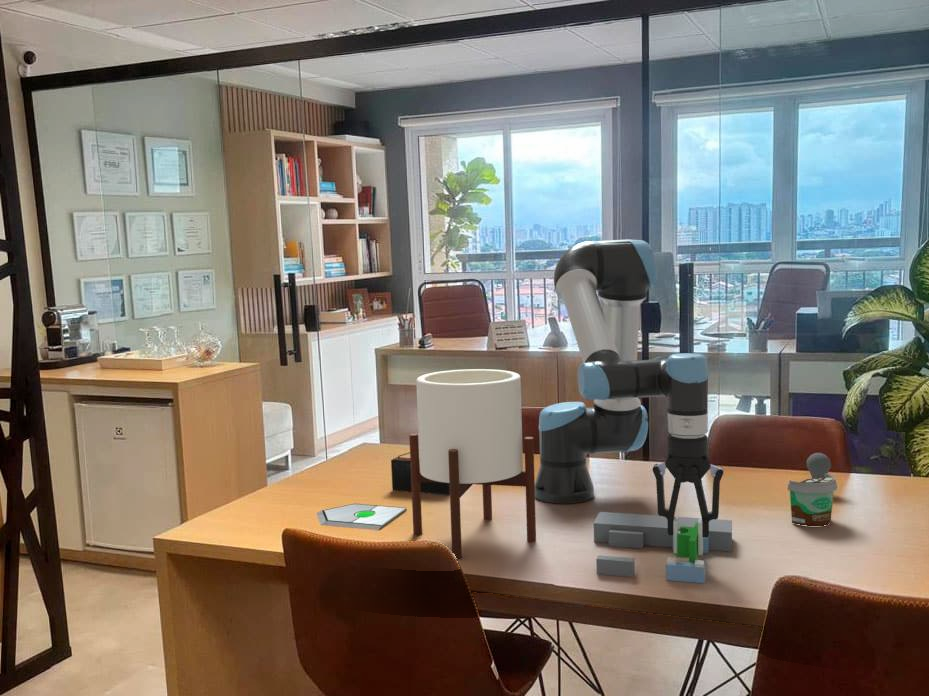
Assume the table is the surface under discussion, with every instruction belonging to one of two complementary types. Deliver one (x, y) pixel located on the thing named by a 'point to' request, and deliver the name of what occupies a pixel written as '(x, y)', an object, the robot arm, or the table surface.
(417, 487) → the plant pot with stand
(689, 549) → the pipe clamp
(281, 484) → the table surface
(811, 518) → the food container
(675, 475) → the robot arm
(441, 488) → the radio
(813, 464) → the light bulb
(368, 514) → the grey pentagonal plate
